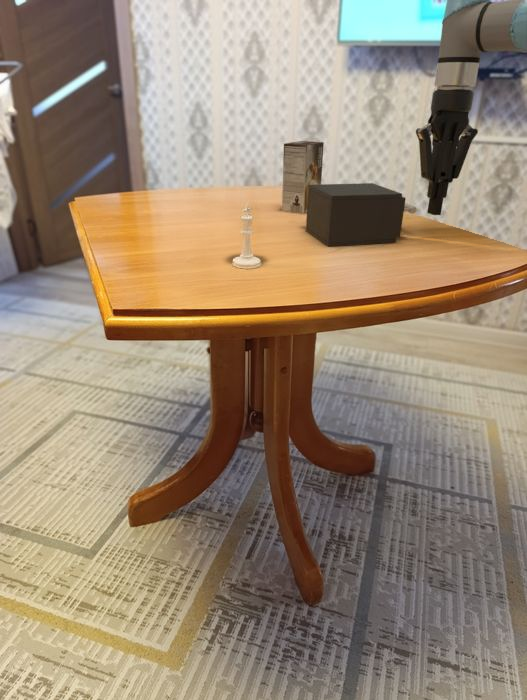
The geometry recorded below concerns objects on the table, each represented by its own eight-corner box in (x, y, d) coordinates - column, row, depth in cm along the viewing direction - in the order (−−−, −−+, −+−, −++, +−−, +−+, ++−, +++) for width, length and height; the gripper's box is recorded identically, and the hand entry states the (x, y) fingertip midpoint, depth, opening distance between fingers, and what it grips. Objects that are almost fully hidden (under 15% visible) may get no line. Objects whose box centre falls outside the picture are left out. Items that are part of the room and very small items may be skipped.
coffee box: (297, 207, 131) (300, 140, 124) (320, 210, 129) (324, 142, 121) (280, 213, 124) (283, 142, 117) (304, 216, 121) (308, 144, 114)
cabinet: (367, 228, 113) (372, 183, 108) (395, 243, 102) (402, 193, 98) (305, 231, 109) (308, 184, 105) (327, 246, 98) (332, 195, 94)
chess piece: (226, 264, 87) (225, 204, 82) (246, 258, 90) (246, 200, 86) (247, 270, 84) (247, 209, 80) (266, 264, 87) (268, 205, 83)
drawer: (391, 223, 113) (396, 187, 110) (418, 236, 103) (424, 197, 100) (317, 227, 109) (319, 189, 105) (338, 240, 99) (341, 199, 95)
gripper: (470, 89, 102) (449, 209, 113) (413, 88, 99) (397, 211, 109) (495, 89, 96) (471, 216, 106) (435, 88, 92) (416, 219, 103)
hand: (433, 213), depth 108 cm, fingers closed
